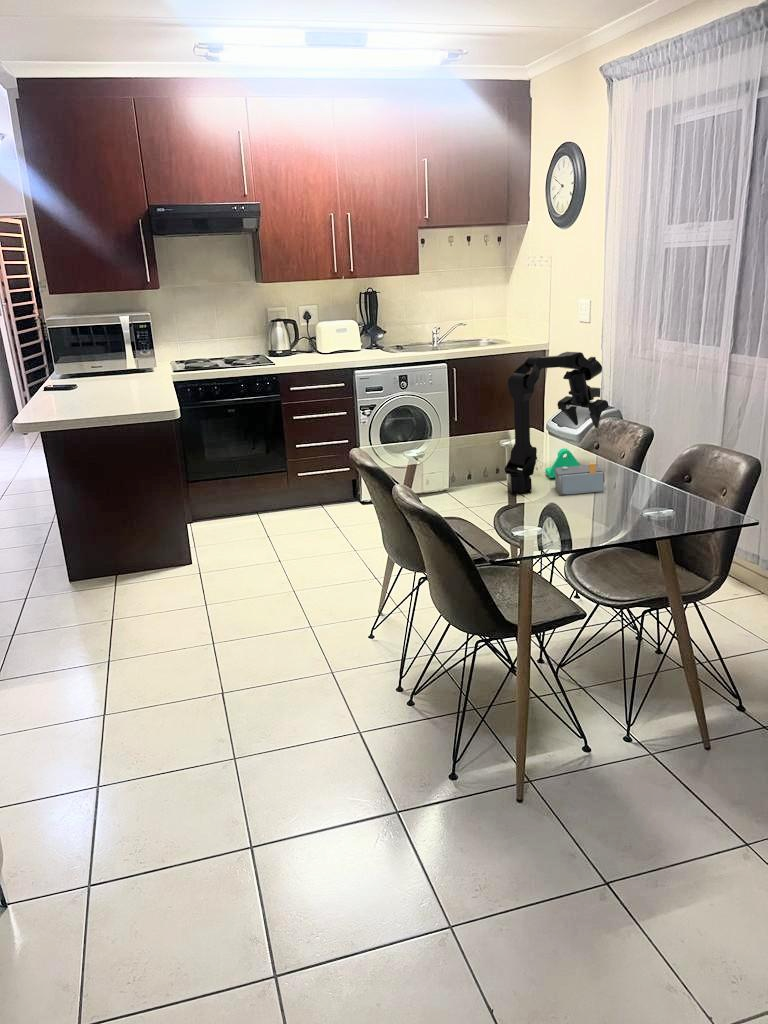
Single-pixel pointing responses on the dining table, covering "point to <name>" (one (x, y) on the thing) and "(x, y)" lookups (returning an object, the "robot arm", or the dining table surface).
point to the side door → (582, 482)
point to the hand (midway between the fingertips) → (586, 426)
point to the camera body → (573, 472)
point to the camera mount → (562, 462)
